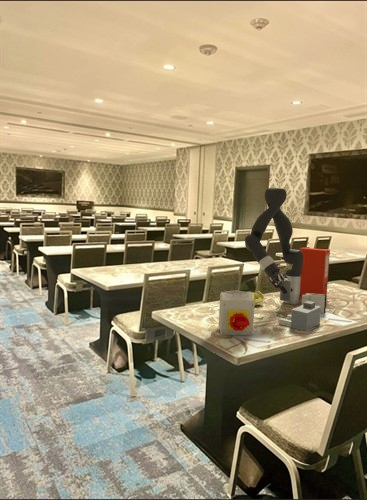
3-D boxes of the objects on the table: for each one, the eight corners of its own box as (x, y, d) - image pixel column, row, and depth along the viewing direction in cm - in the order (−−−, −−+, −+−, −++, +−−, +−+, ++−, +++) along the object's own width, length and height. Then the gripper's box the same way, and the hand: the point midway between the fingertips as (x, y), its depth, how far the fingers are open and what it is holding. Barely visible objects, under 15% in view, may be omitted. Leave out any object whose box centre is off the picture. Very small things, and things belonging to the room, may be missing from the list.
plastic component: (243, 305, 210) (233, 295, 217) (240, 315, 214) (229, 304, 220) (267, 298, 221) (256, 288, 228) (263, 308, 225) (253, 298, 231)
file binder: (301, 293, 253) (304, 247, 249) (326, 297, 242) (329, 249, 238) (296, 295, 247) (299, 248, 243) (321, 299, 236) (325, 250, 232)
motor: (295, 315, 200) (297, 295, 199) (322, 321, 190) (324, 300, 189) (278, 323, 186) (279, 302, 184) (306, 331, 176) (307, 308, 174)
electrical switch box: (221, 343, 164) (223, 302, 158) (218, 328, 178) (220, 289, 172) (254, 344, 164) (257, 303, 158) (248, 328, 178) (251, 290, 173)
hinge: (301, 312, 207) (302, 295, 206) (299, 310, 212) (300, 293, 211) (326, 313, 206) (327, 295, 205) (323, 310, 211) (324, 293, 210)
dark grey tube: (282, 297, 192) (284, 277, 191) (292, 299, 189) (293, 278, 187) (277, 299, 189) (278, 278, 187) (287, 301, 185) (288, 280, 184)
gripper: (266, 263, 186) (286, 290, 179) (280, 260, 196) (300, 286, 190) (257, 272, 190) (276, 298, 184) (271, 268, 201) (290, 294, 194)
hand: (288, 292), depth 187 cm, fingers closed on dark grey tube, 5 cm apart
